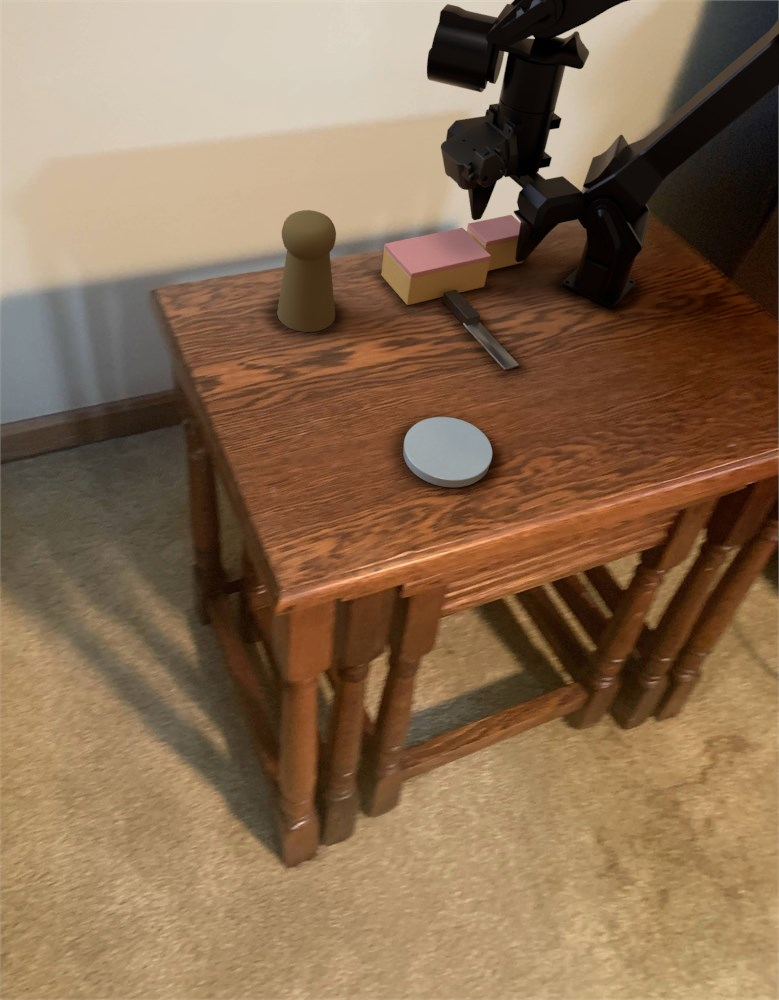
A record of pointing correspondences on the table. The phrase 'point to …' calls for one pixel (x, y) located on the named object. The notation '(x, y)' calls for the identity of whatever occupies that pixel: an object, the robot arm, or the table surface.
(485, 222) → the cake slice
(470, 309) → the knife
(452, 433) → the plate
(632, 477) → the table surface
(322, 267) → the pepper mill
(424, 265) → the cake
